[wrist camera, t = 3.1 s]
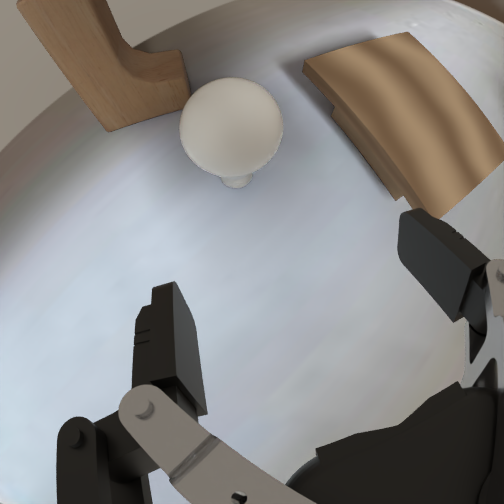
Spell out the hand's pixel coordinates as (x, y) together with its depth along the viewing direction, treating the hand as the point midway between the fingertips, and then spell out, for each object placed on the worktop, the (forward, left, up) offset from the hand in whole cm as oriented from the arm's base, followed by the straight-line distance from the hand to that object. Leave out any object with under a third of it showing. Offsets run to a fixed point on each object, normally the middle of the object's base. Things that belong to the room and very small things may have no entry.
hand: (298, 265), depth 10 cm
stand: (+19, +5, -14) cm, 24 cm away
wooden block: (-1, +22, -14) cm, 26 cm away
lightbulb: (+3, +9, -14) cm, 17 cm away
